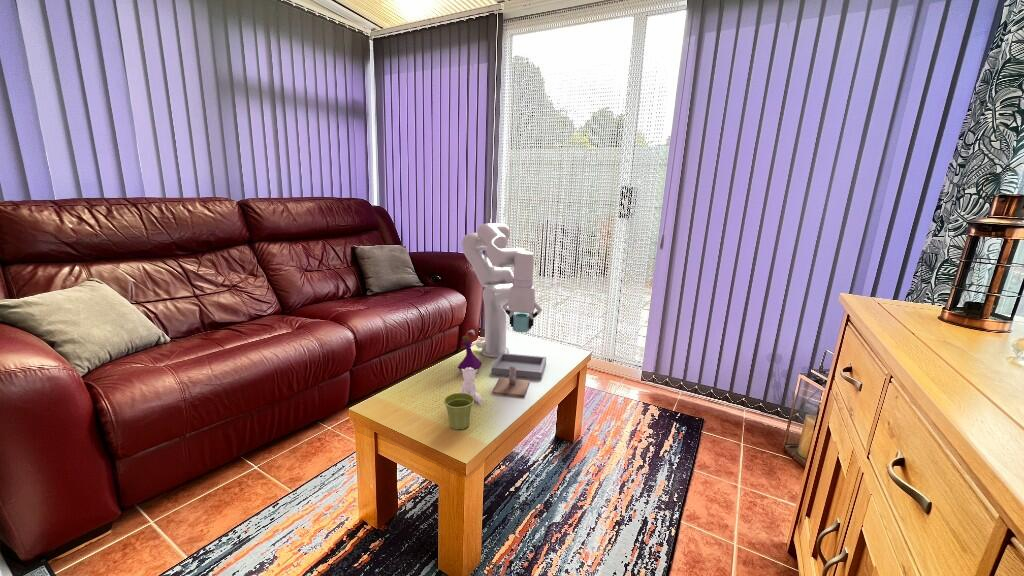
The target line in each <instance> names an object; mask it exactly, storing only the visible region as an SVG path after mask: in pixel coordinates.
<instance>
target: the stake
mask: <svg viewBox="0 0 1024 576" xmlns="http://www.w3.org/2000/svg"><path fill="white" fill-rule="evenodd" d="M530 384H531V383H530V380H526V379H517V377H516V367H514V366H511V367H509V376H508V377H499V378H498V379H497V381H496V383H495V384H494V387H493V388H492V391H491V395H497V396H507V397H516V398H526V395H527V391H528V389H529V387H530Z"/></svg>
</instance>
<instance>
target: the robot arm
mask: <svg viewBox="0 0 1024 576" xmlns="http://www.w3.org/2000/svg"><path fill="white" fill-rule="evenodd" d="M510 235H511V232H510V228H509V227H508V225H507V224H506V223H503V222H491V223H490V222H488V223H487V222H486V223H482V224H480V225H479V226H478V228H477V230H476V232H471V233H467V234H466V235H464V236H463V237H462V239H461V240H462V241H461V247H462V251H463V253H464V256H465V257H466V260H467V261H468V262H469V263H470V265H471V266H472V268H473V270H474V273H475V275H476V279H477V280H478V282H479V284H480V285H481V286H482V287H483V288H484V289H483V290H482V299H483V306H484V341H482V342H481V341H476V343H475V345H476V346H475V347H476V348H477V349H478V348H479V349H481V354H482V355H483V356H484V357H487V358H495V359H496V358H498V357H499V355H500V353H507V354H510V349H509V348H508V347H507V315H508V317H509V325H510V327H511V328H513V315H514V314H515V313H527V314H529V316H530V319H529V329H530V330H531V329H532V328H533V326H534V318H536V317H537V316H538V315H539V314H540V313H542V312H543V309H542V307H541V306H539V304H537V302H536V292H535V287H534V286H533V279H534V277H533V276H534V259H535V258H534V253H533V252H531V251H527V250H526V249H525V248H522V247H511V248H510V247H508V248H507V245H508V240H509V239H510ZM482 251H486V254H485V253H483V252H482ZM511 268H513V270H512V269H511ZM535 310H536V311H535Z"/></svg>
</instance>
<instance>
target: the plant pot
mask: <svg viewBox="0 0 1024 576" xmlns="http://www.w3.org/2000/svg"><path fill="white" fill-rule="evenodd" d="M473 402H474V397H473V396H472V395H470V394H467V393H460V392H456V393H451V394H449V395H446V396H445V397H444V399H443V404H444V405H445V408H446V411H447V415H448V422H449V427H450V426H451V427H450V428H452V429H453V428H454V429H453V430H455V429H462V430H464V429H466V428H468V427H469V426H470V423H471V414H472V406H473V405H474V403H473Z"/></svg>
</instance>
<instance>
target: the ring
mask: <svg viewBox="0 0 1024 576" xmlns="http://www.w3.org/2000/svg"><path fill="white" fill-rule="evenodd" d="M529 319H530V316H529V313H519V312H514V315H513V327H512V331H514V332H516V333H528V332H529V331H531V329H529Z"/></svg>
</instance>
